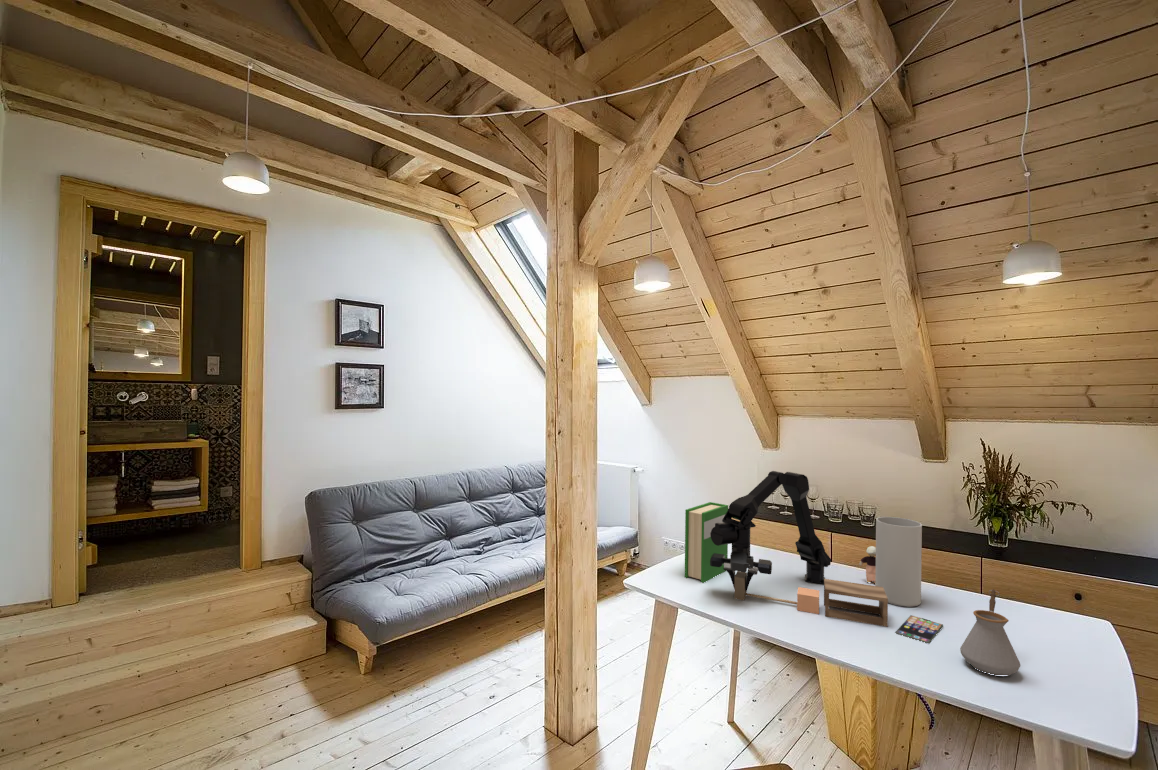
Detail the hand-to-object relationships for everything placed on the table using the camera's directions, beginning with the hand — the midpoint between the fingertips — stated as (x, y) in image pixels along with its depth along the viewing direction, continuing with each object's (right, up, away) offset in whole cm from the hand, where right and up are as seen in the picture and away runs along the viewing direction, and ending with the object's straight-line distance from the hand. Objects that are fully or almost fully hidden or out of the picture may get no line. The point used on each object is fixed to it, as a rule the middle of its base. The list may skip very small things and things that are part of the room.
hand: (740, 589), depth 168 cm
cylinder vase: (+50, -3, -1) cm, 50 cm away
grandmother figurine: (+50, -3, +14) cm, 52 cm away
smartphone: (+43, -3, -22) cm, 49 cm away
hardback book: (-6, -2, +20) cm, 21 cm away
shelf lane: (+30, -3, -13) cm, 33 cm away
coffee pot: (+51, -3, -38) cm, 63 cm away
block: (+10, -2, -5) cm, 11 cm away
